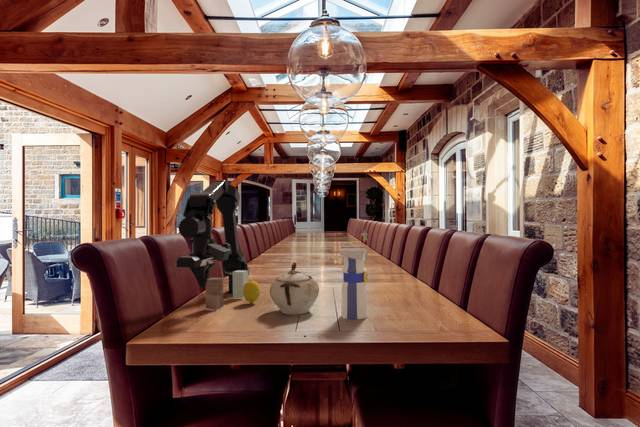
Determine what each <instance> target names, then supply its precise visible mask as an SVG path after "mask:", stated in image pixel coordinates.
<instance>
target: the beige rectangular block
mask: <svg viewBox="0 0 640 427" xmlns="http://www.w3.org/2000/svg"><path fill="white" fill-rule="evenodd" d="M204 288H205V311H215V310H216V311H219V310H222V309H224V308H225V307H224V306H225V305H224V302H225V301H224V278H223V277H208V279H207V282H206V286H205V287H204Z"/></svg>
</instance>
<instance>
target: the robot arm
mask: <svg viewBox="0 0 640 427" xmlns="http://www.w3.org/2000/svg"><path fill="white" fill-rule="evenodd" d="M240 199H241V198H240V192H239V191H238V189H237V187H236V186H234V185H232V184H230V183H229V181H228V180H226V179H214V180H212V181H211V183H210V184H209V185H208V186H207V187H205V189H203V191H201V192H194V193H191V194H190V195H189V197H188V199H187V200H186V204H185V208H184V211H183V214H182V216H183V217H184V218H183V219H181V221H179V224H178V232H179V234H180V235H181V236H182V237H183V238H186V239H189V240H188V244H191V245H192V246H191V248H192V249H191V252H190V253H189V255H183V256H179V257H177V258H176V259H175V267H176V268H188V269H190V270H191V272H192V273H193V276H194V278H195V279H196V281H197V283H198V285H199V287H200V288H203V289H204V288H205V286H206V282H207V279H209V275H210V272H211V270H212V269H213V268H214V267H215V266H216V265H217V264H218V263H217V262H214V261H213V260H216V261H218V262H222V263H221V267H222V274H223V277H228V285H227V286H228V289H227V290H225V291H224V294H225V293H226V294H228V293H229V294H233V272H234V271H237V270H244V271H248V277H249V275H250V271H249V270H250V268H249V265H248V263H247V260H246V258H245V254H244V252H243V251H242V250H241V249H240V246H239V245H240V244H239V235H238V233H239V232H238V226H237V225H238V224H237V217H236V211H237V209H238V207H239V205H240V201H241V200H240ZM216 208H217V210H218V211H219V213H221V216H222V222H223V231H224V241H225V243H223V244H222V245H221V244H217V243H216V239H215V238H212V237H213V234H212V231H213V230H212V229H213V228H212V227H213V226H212V221H213V216H212V215H213V214H214V212H215V210H216Z"/></svg>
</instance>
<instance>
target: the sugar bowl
mask: <svg viewBox="0 0 640 427" xmlns="http://www.w3.org/2000/svg"><path fill="white" fill-rule="evenodd" d="M296 269H297V263H296V262H293V263H292V264H291V269H290V270H289V271H288V272H287V273H285V274H283V275H282V274H281V276H277V277H276V278H275V279H274V280H273V282H271V285H270V287H269V295H270V297H271V300H272V302H273V303H274V305H276V307H277V308H278V309H279V311H280V312H281V313H282V314H283V315H291V316H292V315H297V316H298V315H304V314H306V313H307V314H308V313H309V311H310V309H311V308H312V307H313V305H314V304H315V302H316V300H317V298H318V296H319V293H320V286H319V284H318V281H316V280H315V279H314V277H312V276H310V275H308V274H305V273H302V272H301V271H297V270H296Z"/></svg>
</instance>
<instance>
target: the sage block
mask: <svg viewBox="0 0 640 427" xmlns="http://www.w3.org/2000/svg"><path fill="white" fill-rule="evenodd" d="M232 273H233V293H232V299H233V300H245V298H244V296H243V287H244V285H245V283H246V282H248V281H249V276H248V271H244V270H237V271H234V272H232Z"/></svg>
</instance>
